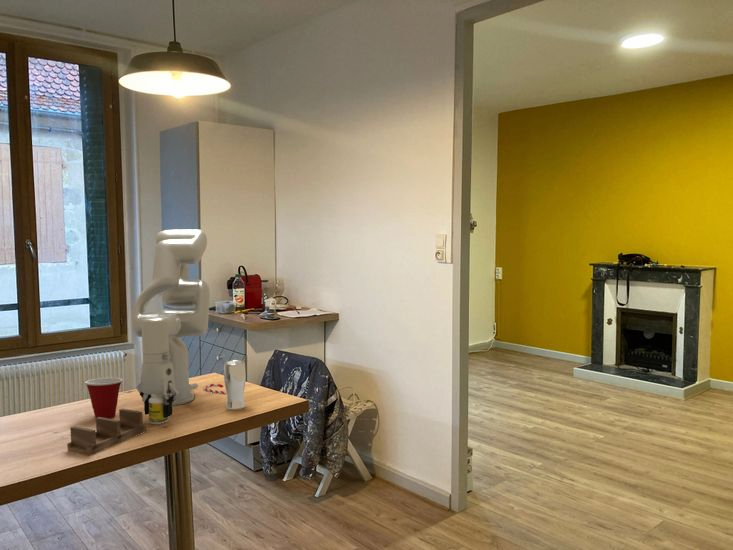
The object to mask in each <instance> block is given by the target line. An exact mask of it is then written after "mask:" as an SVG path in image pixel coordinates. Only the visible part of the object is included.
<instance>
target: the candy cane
mask: <svg viewBox="0 0 733 550" xmlns="http://www.w3.org/2000/svg"><path fill="white" fill-rule="evenodd" d="M212 386H213V387H219V388H224V385H223V384H221V383H210V384H206V385H205V386H204V387H203V391H205V392H207V393H211V392H212V393H213V394H217V393H219V394H218V395H226V394H227V392H226V390H225V391H224V390H216V389H211V387H212ZM213 387H212V388H213Z"/></svg>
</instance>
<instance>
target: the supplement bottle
mask: <svg viewBox="0 0 733 550" xmlns="http://www.w3.org/2000/svg"><path fill="white" fill-rule="evenodd" d="M151 396H152V397H151V398H150V399H149V414H148V418H149V423H150V424H153V425H162V424H165V423H167V422H168V421H169V417H167V418H164V417H163V405H165V403H164V401H163V399H162V396H157V395H154V394H151ZM164 422H165V423H164ZM161 423H162V424H161Z"/></svg>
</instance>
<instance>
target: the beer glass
mask: <svg viewBox="0 0 733 550" xmlns="http://www.w3.org/2000/svg"><path fill="white" fill-rule="evenodd" d="M245 363H246V362H245V361H244V360H240V359H232V360H227V361H225V362H223V365H224V366H223V380H224V386H225V392H227V395H226V396H227V397H226V405H225V407H226V409H227V410H229V411H238V410H242V409H245V408H246V402H245V396H244V395H245V387H246V376H247V375H246V365H245Z"/></svg>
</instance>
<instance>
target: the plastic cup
mask: <svg viewBox="0 0 733 550" xmlns="http://www.w3.org/2000/svg"><path fill="white" fill-rule="evenodd" d="M122 383H123V378H120V377H100V378H92V379H88V380H86V381H85V382H84V384H85V385H86V387H87V390H88V393H89V398H90V402H91V407H92V409H93V414H94V418H95V419H96V418H98V417H103V418H108V419H113V418H115V416H116V414H117V413H116V412H117V407H118V400H119V392H120V388H121V384H122Z"/></svg>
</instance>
